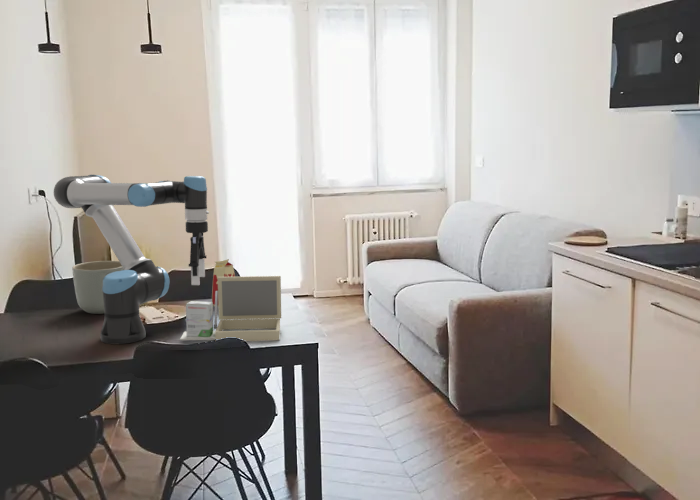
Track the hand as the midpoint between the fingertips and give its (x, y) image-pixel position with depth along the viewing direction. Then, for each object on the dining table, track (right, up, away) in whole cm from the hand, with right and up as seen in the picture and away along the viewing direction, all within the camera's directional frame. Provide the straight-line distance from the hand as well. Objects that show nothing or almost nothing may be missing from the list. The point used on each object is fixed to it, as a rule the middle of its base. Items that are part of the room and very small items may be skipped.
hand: (198, 280), depth 236 cm
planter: (-48, -14, +39) cm, 63 cm away
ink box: (0, -20, +3) cm, 20 cm away
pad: (0, -20, +3) cm, 20 cm away
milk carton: (0, -13, +49) cm, 50 cm away
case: (+17, -20, +6) cm, 27 cm away
